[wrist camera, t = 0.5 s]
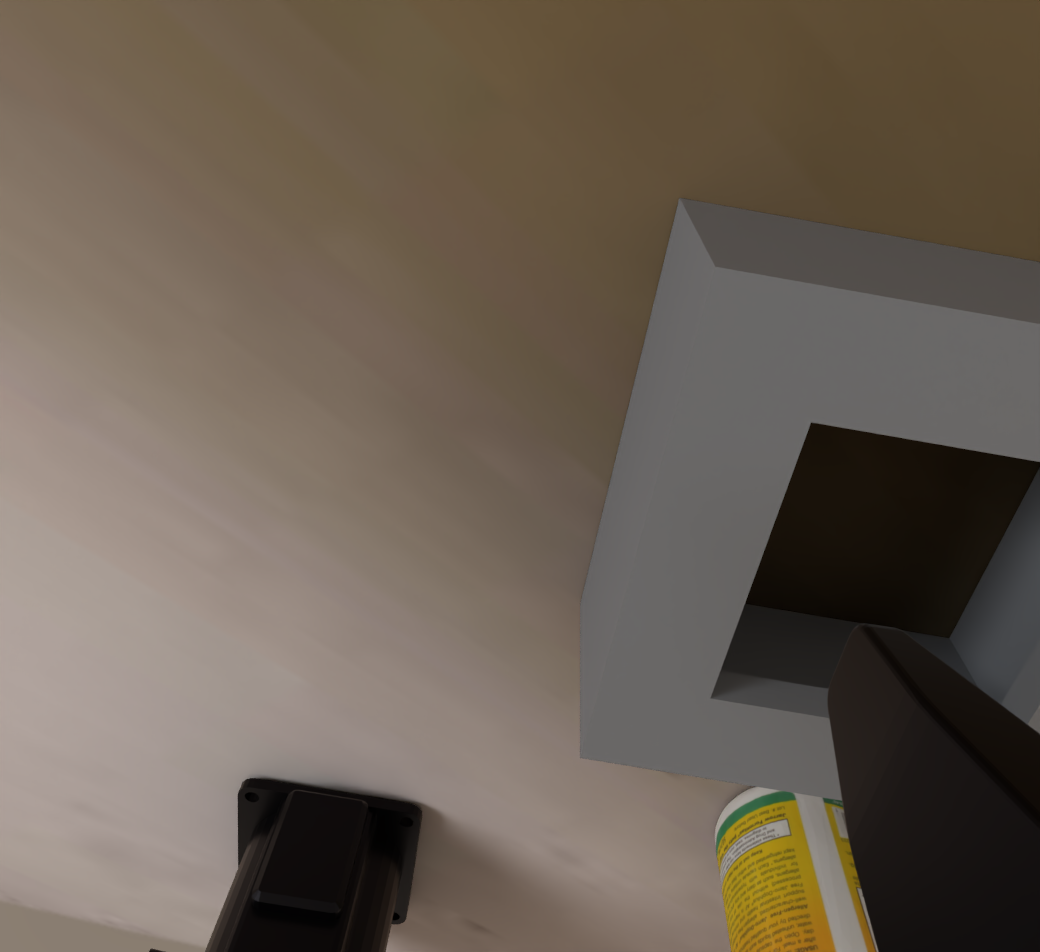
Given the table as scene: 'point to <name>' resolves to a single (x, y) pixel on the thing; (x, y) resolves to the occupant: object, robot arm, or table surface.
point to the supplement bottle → (790, 875)
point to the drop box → (767, 472)
